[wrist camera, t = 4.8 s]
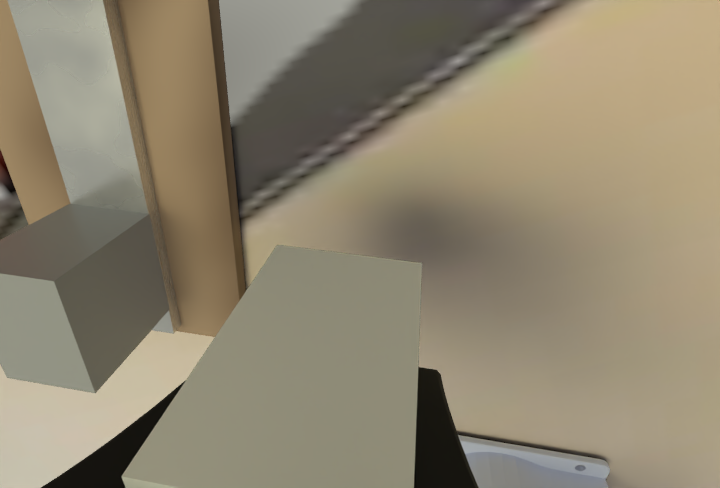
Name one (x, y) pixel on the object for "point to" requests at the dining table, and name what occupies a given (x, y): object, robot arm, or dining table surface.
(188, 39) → the board
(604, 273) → the dining table surface
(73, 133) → the rail
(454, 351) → the dining table surface
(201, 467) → the block
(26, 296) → the block
